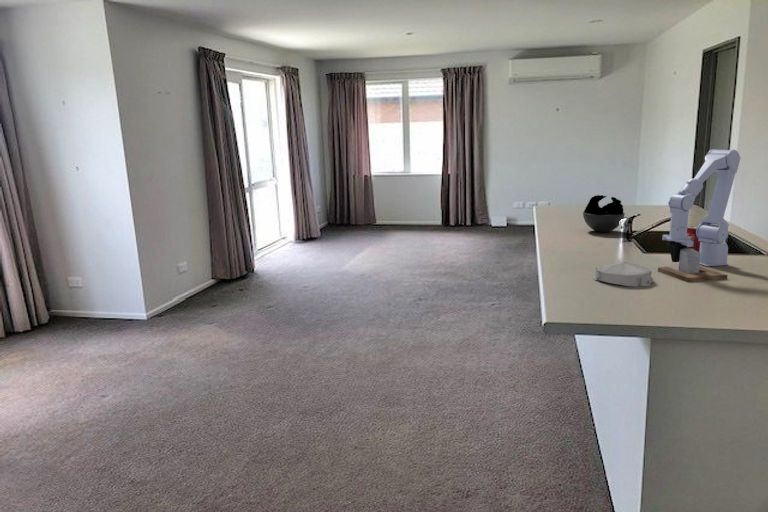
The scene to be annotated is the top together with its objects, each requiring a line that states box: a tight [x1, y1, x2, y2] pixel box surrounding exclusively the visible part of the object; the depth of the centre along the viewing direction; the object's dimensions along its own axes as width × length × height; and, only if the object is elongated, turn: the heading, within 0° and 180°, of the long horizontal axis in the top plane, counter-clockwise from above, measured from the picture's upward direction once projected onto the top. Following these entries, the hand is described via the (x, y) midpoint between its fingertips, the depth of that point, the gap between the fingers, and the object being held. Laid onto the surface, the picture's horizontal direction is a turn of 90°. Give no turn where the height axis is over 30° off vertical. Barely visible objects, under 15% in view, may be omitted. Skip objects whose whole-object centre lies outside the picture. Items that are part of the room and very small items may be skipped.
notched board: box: [657, 265, 729, 283], centre depth 211 cm, size 16×16×2 cm
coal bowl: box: [582, 194, 626, 233], centre depth 297 cm, size 20×20×19 cm
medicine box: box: [678, 249, 701, 274], centre depth 212 cm, size 8×4×9 cm, turn 172°
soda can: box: [686, 225, 700, 252], centre depth 241 cm, size 7×7×12 cm
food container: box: [592, 261, 654, 288], centre depth 206 cm, size 20×20×7 cm
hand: (675, 261), depth 219 cm, fingers closed
